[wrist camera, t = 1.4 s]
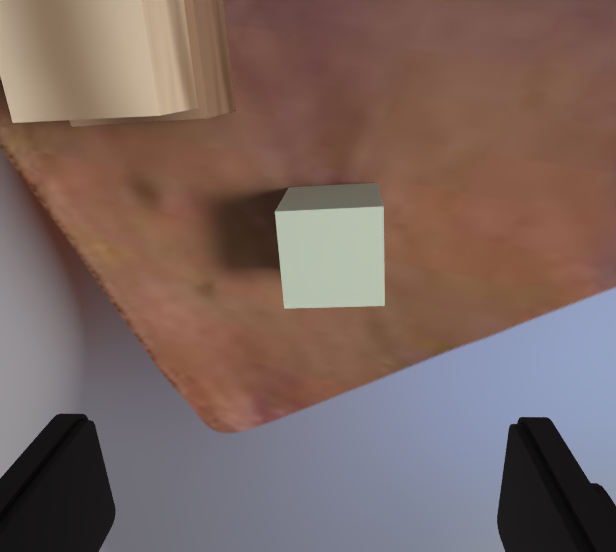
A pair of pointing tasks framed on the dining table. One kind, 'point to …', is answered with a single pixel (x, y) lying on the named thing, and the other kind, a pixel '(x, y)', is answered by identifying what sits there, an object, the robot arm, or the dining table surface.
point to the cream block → (198, 67)
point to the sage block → (331, 246)
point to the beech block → (95, 59)
